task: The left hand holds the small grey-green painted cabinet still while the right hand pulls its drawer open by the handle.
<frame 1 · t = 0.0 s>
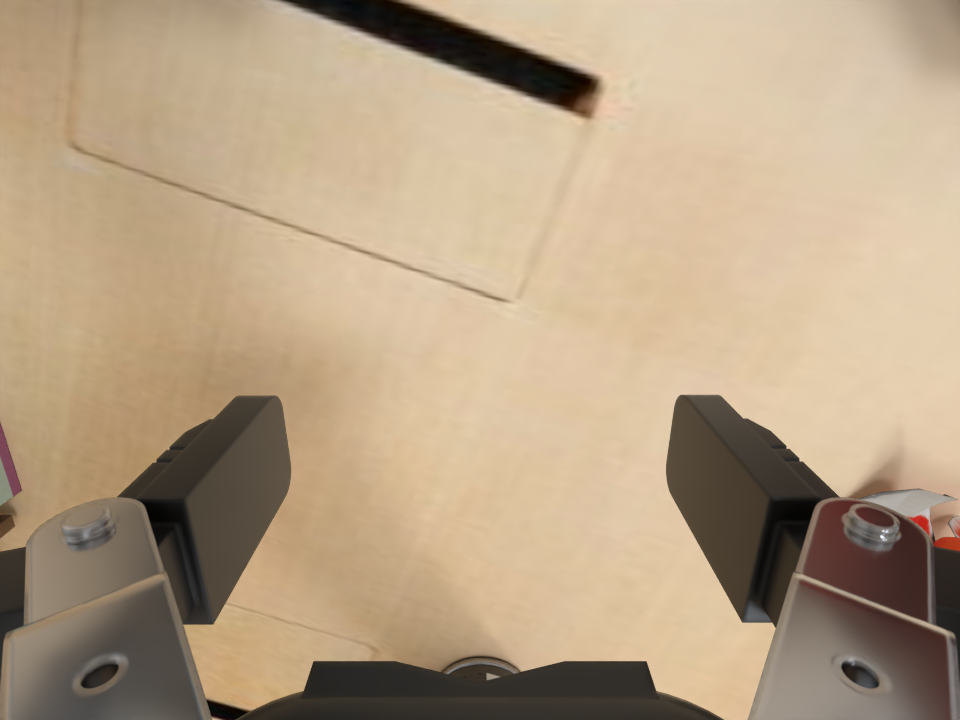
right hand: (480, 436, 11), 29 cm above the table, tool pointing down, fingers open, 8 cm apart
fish: (882, 525, 47), on the table
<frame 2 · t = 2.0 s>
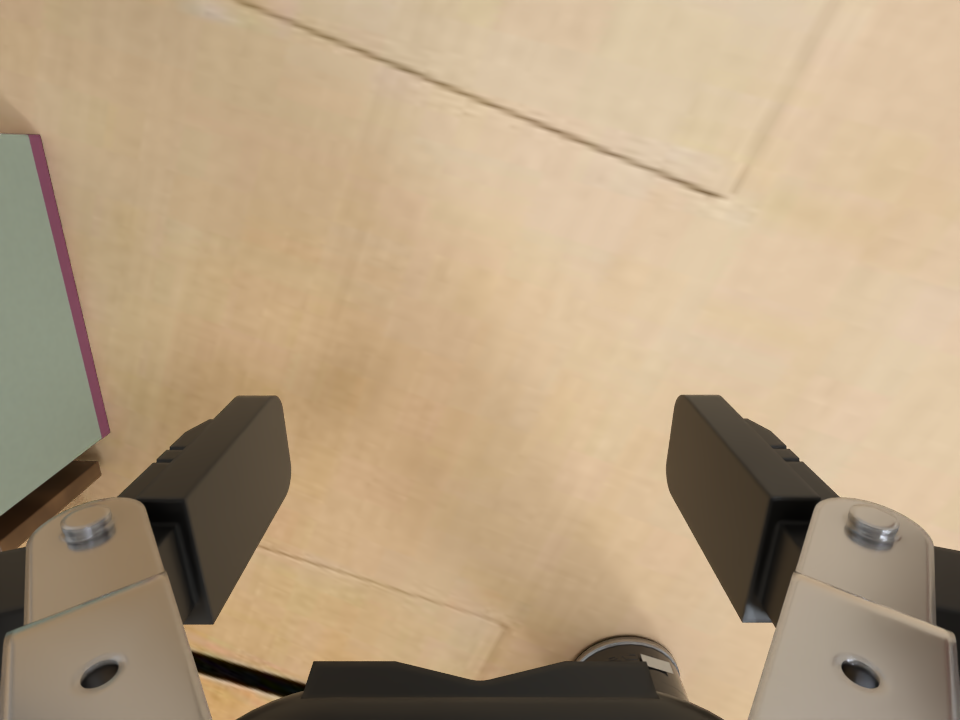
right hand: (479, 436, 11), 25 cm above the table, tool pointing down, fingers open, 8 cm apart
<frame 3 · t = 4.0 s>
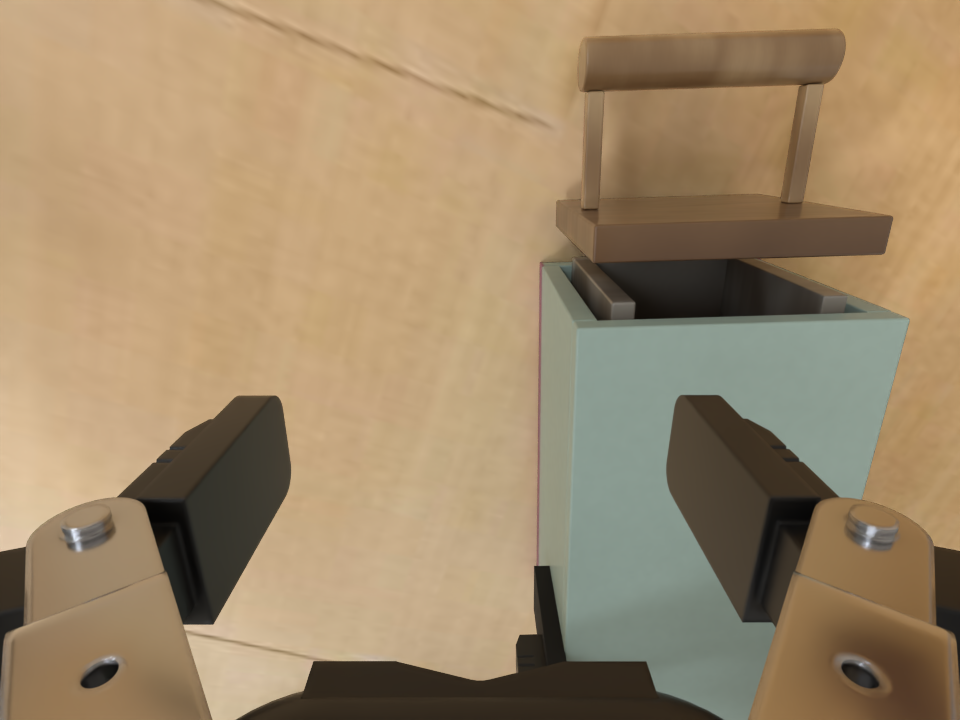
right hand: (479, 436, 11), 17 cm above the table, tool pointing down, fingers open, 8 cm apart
drawer: (675, 362, 23), point 5 cm above the table, slide at 1.8 cm
cabinet: (631, 436, 30), on the table, touching left hand
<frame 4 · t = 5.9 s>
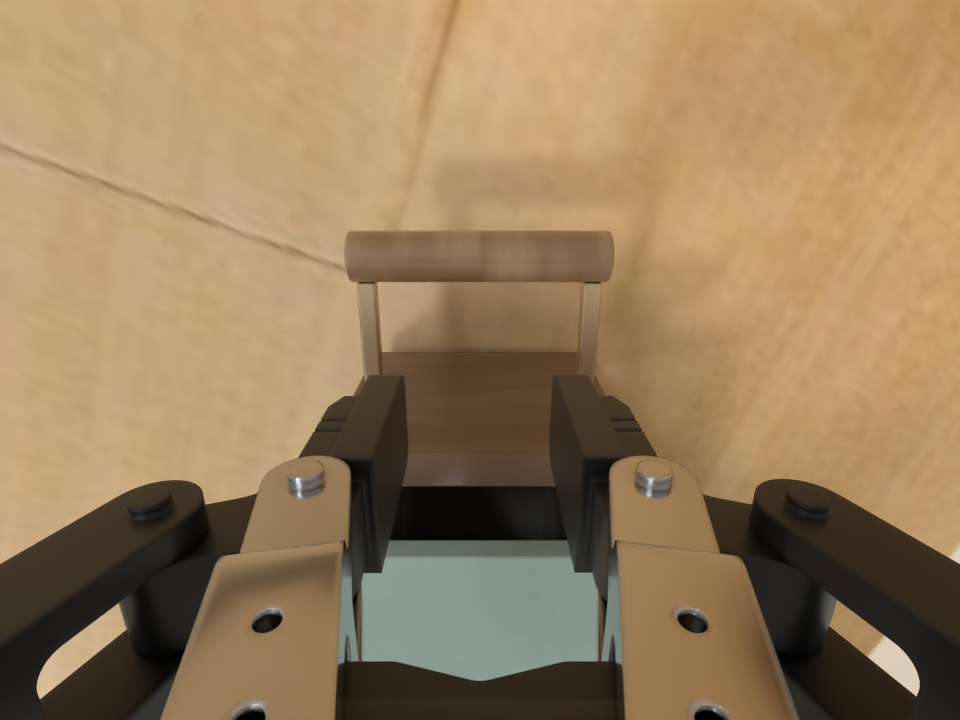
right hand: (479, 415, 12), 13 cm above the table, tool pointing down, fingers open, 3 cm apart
drawer: (479, 535, 22), point 5 cm above the table, slide at 1.8 cm
cabinet: (479, 569, 29), on the table, touching left hand
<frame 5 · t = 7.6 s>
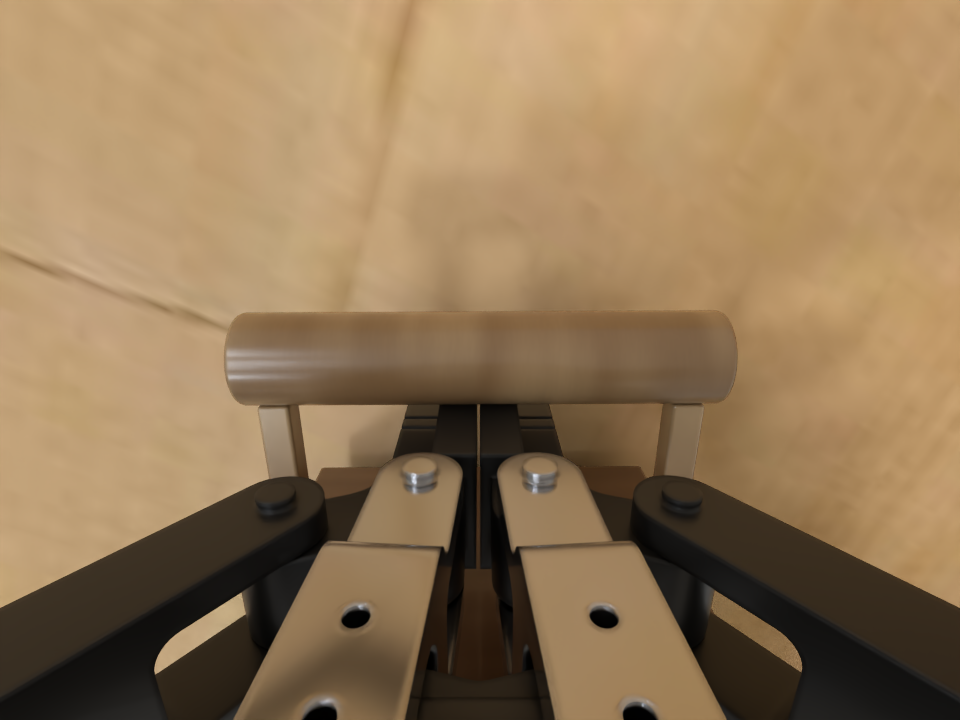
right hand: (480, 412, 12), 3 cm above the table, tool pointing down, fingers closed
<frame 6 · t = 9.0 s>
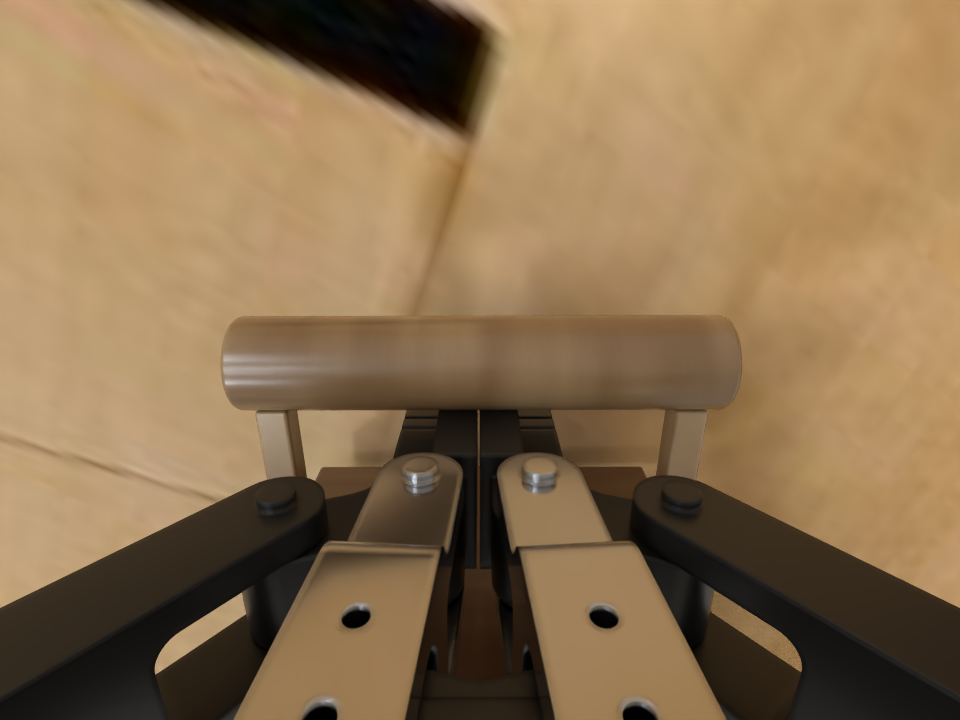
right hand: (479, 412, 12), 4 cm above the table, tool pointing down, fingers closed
when the left hand's fingers open (6 cm above the table, at t = 10.8 s): cabinet stays where it is, on the table.
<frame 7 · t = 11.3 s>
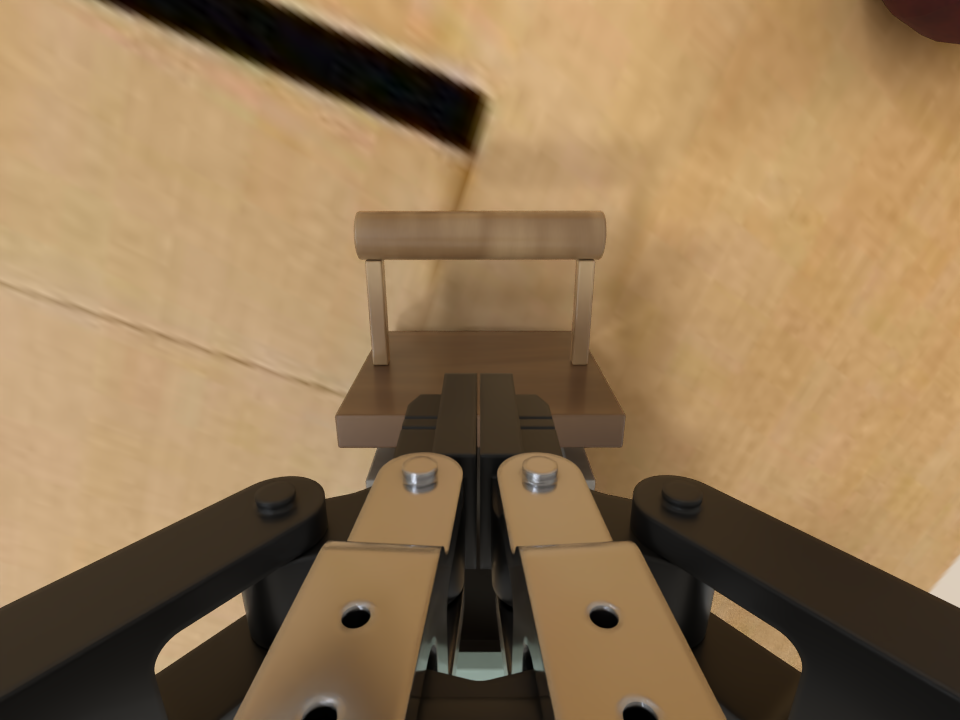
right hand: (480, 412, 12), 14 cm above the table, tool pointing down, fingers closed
drawer: (480, 503, 23), point 5 cm above the table, slide at 8.6 cm
cabinet: (480, 635, 33), on the table
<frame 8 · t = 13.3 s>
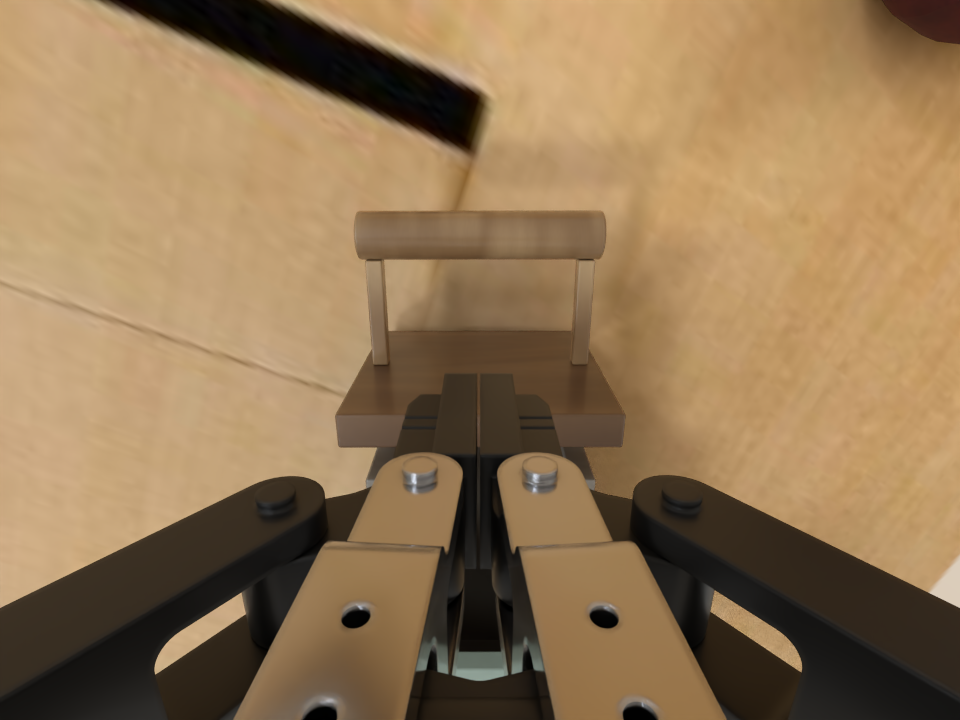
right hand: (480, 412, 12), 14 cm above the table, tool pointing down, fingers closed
drawer: (480, 503, 23), point 5 cm above the table, slide at 8.6 cm
cabinet: (480, 635, 33), on the table
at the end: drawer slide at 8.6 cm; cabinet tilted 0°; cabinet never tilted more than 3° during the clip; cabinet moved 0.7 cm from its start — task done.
